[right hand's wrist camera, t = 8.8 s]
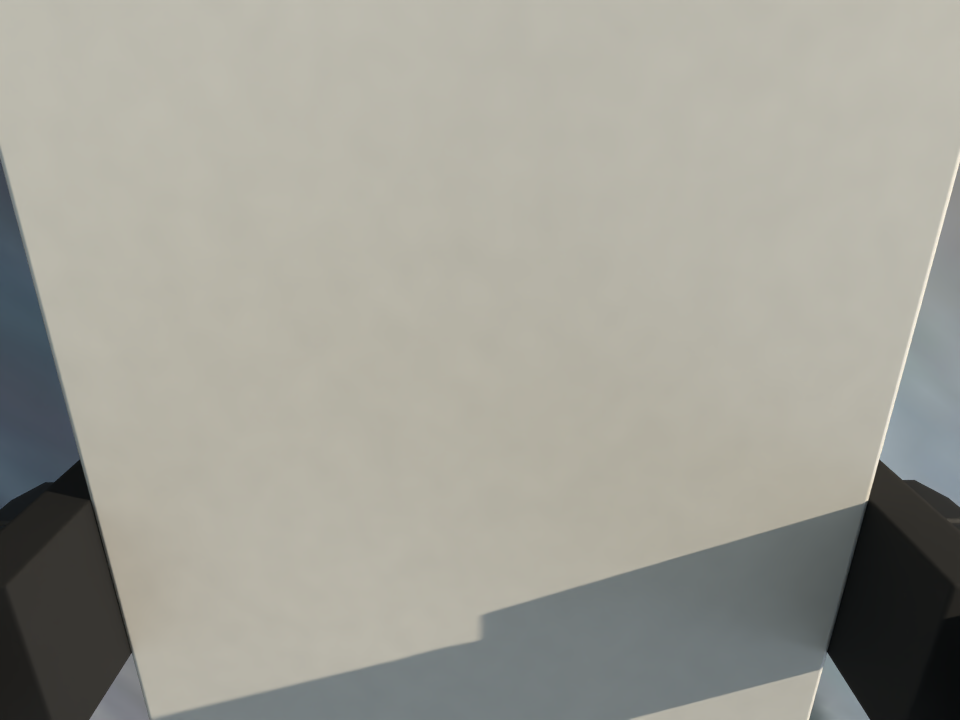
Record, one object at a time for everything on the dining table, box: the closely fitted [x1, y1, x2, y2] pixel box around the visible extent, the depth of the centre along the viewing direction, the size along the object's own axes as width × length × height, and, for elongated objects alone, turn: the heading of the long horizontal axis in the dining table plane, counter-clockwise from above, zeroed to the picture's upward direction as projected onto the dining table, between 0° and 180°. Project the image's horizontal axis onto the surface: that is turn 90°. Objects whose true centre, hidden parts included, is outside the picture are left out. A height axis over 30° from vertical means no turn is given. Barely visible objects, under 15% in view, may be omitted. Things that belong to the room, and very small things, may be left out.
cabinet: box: [0, 0, 960, 720], centre depth 10 cm, size 21×10×8 cm, turn 0°
